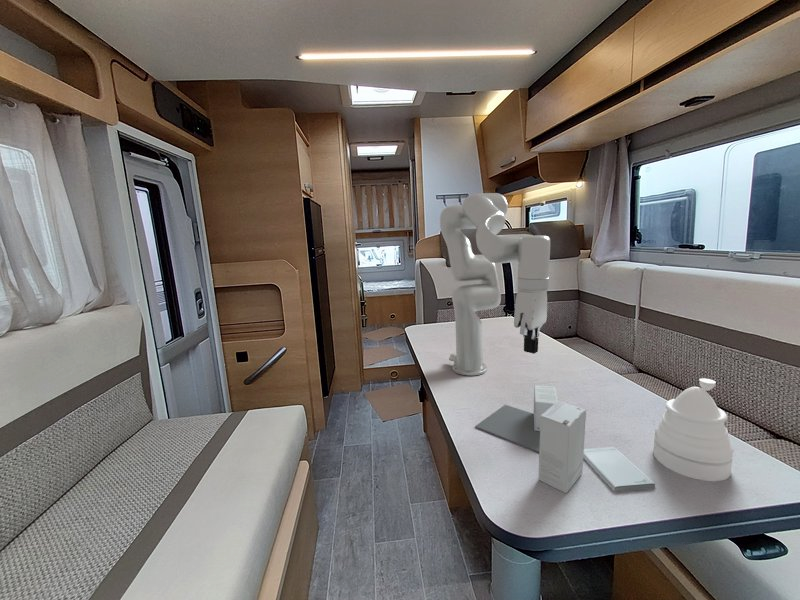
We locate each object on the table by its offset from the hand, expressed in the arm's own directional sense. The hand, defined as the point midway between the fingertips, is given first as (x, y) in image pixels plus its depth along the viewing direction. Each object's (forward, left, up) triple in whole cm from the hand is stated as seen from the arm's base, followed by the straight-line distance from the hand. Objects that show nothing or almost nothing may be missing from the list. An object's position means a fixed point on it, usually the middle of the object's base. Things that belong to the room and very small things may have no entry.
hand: (530, 351), depth 96 cm
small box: (+3, +2, -14) cm, 14 cm away
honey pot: (+35, +2, -18) cm, 39 cm away
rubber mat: (+3, -8, -18) cm, 20 cm away
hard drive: (+24, -11, -19) cm, 32 cm away
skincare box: (+17, -21, -18) cm, 32 cm away
